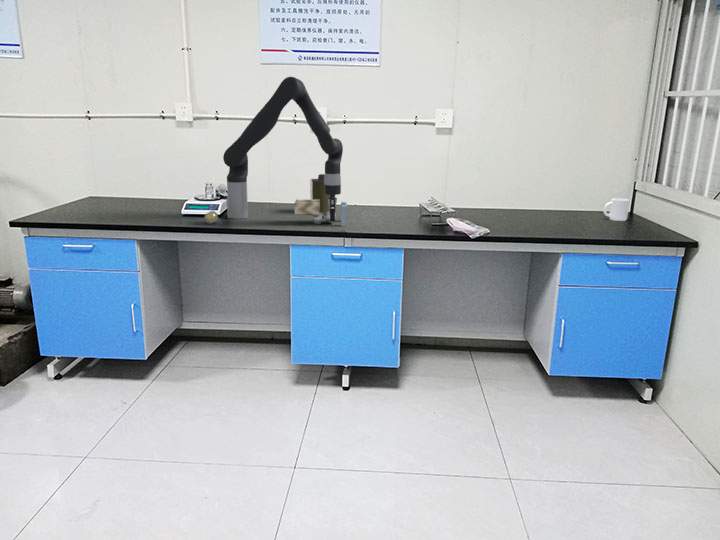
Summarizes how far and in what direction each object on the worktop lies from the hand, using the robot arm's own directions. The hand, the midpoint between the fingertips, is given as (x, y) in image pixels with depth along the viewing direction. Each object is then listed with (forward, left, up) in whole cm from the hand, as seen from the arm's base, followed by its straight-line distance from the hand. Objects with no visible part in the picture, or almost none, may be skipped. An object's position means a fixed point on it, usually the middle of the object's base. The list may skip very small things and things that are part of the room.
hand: (332, 220), depth 258 cm
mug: (+142, +16, -2) cm, 143 cm away
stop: (+5, 0, -1) cm, 5 cm away
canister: (-6, +26, -2) cm, 27 cm away
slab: (-12, 0, +4) cm, 12 cm away
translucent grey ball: (-9, 0, +1) cm, 9 cm away
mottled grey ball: (-4, 0, +2) cm, 4 cm away
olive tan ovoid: (-56, 0, -2) cm, 56 cm away
